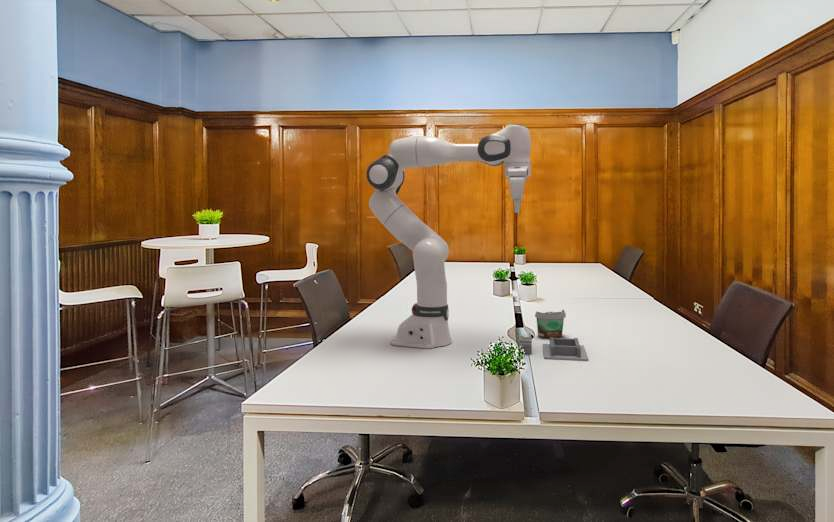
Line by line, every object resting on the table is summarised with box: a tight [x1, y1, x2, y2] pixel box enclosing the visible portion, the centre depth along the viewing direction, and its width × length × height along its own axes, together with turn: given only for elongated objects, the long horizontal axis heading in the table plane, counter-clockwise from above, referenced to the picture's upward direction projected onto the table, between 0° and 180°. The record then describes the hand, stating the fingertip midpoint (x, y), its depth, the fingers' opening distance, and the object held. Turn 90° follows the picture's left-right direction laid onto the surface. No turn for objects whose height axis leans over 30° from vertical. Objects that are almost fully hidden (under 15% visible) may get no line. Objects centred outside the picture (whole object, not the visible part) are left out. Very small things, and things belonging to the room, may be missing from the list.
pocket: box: [542, 337, 589, 362], centre depth 178 cm, size 14×17×4 cm
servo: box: [519, 334, 533, 355], centre depth 180 cm, size 4×9×5 cm, turn 168°
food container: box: [534, 309, 567, 340], centre depth 197 cm, size 12×6×10 cm, turn 105°
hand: (517, 212), depth 182 cm, fingers open, 8 cm apart
